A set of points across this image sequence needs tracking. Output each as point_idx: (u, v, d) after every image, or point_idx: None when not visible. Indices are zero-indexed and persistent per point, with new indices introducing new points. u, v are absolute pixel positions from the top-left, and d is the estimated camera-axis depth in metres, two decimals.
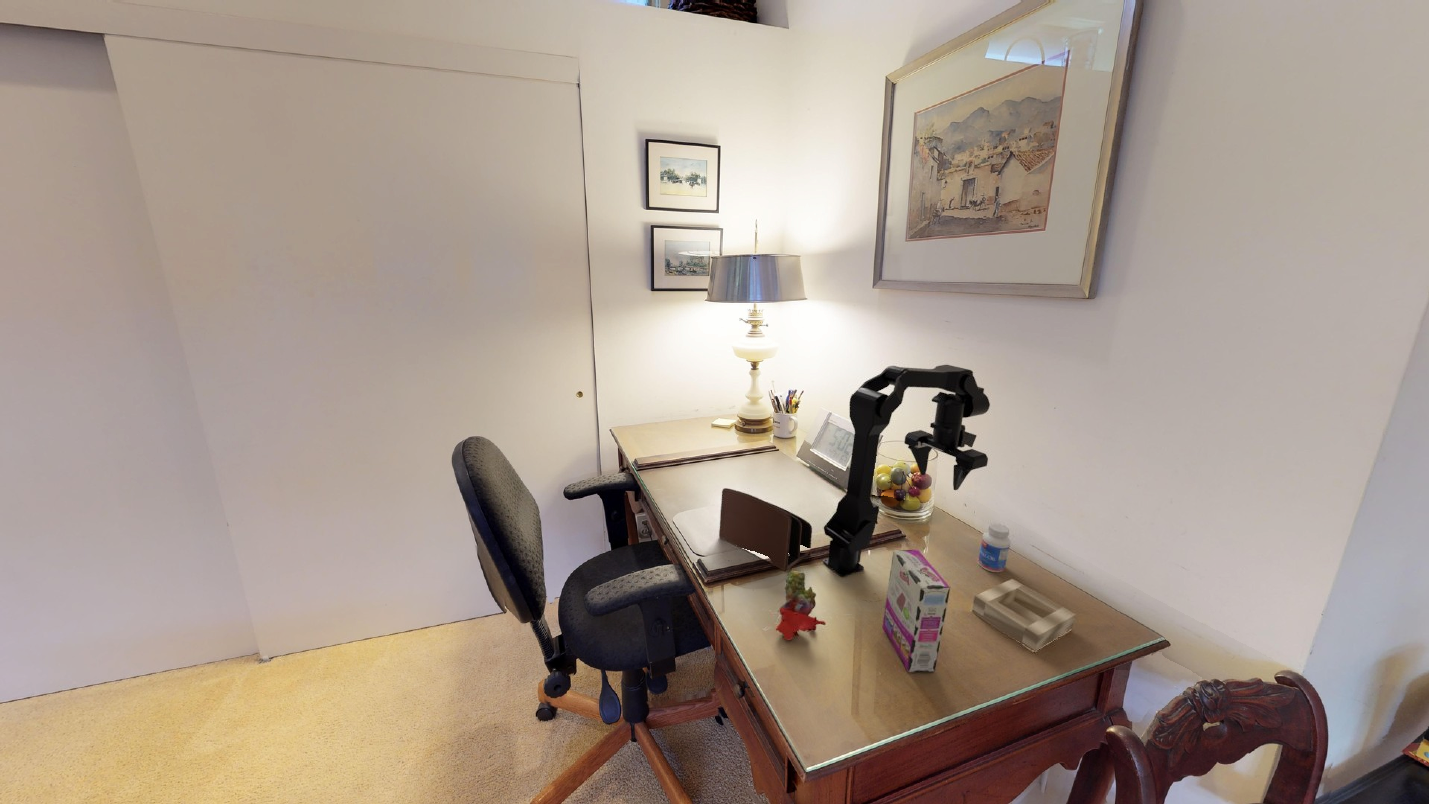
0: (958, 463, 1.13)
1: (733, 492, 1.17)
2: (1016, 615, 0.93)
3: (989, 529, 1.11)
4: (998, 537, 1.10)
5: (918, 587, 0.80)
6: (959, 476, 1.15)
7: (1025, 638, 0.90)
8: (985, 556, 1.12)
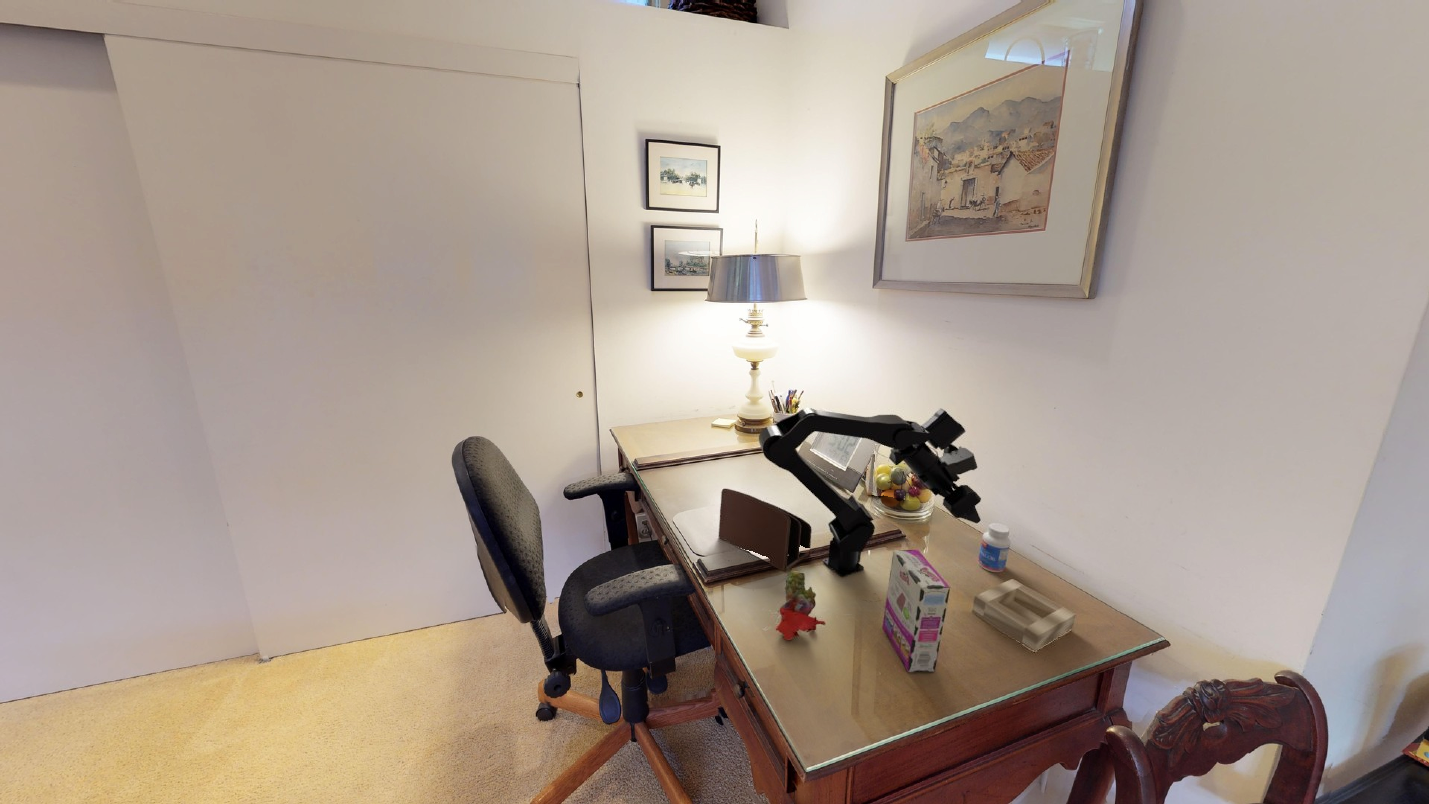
0: None
1: (732, 492, 1.17)
2: (1016, 615, 0.93)
3: (989, 529, 1.11)
4: (998, 537, 1.10)
5: (918, 587, 0.80)
6: (963, 516, 1.04)
7: (1025, 638, 0.90)
8: (985, 556, 1.12)
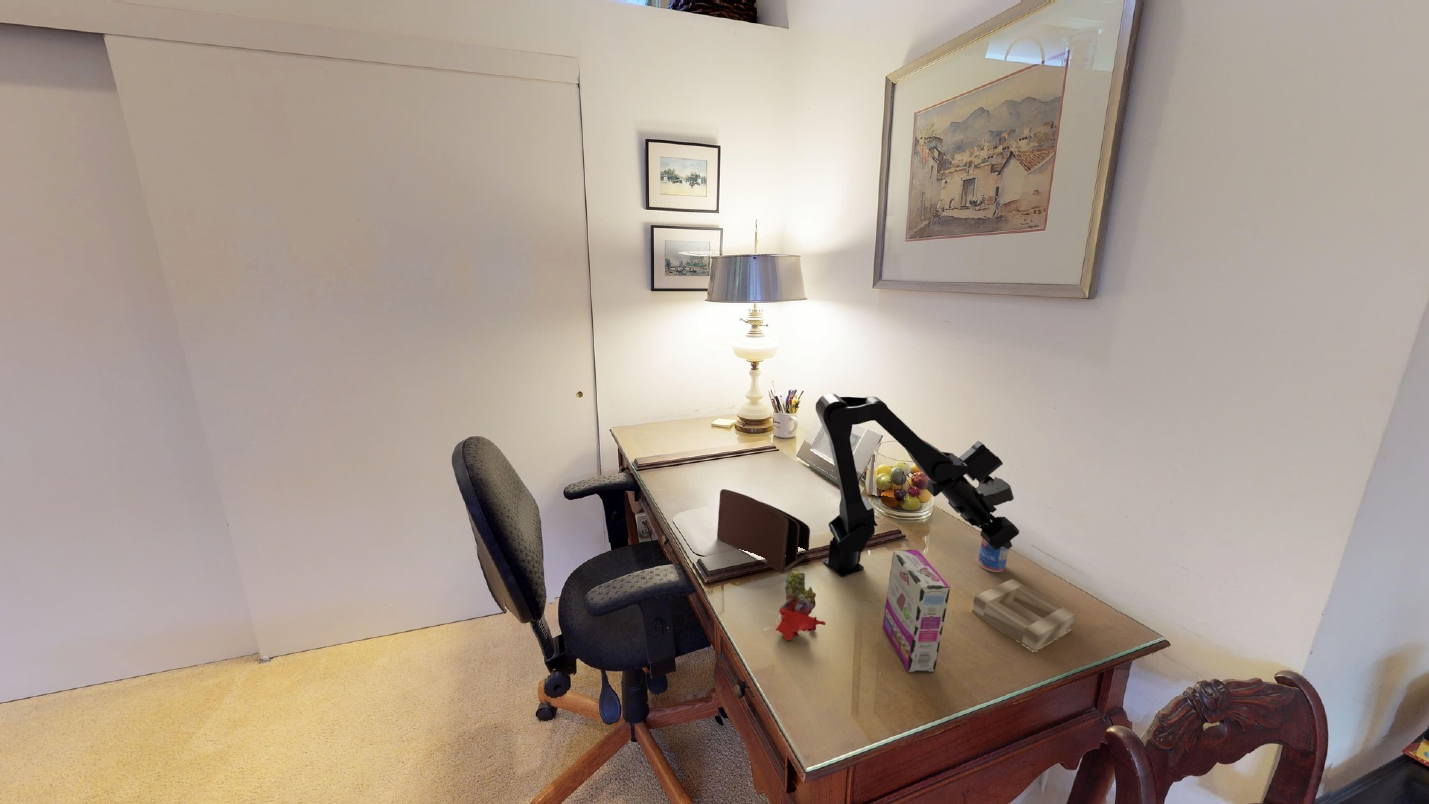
0: None
1: (731, 493, 1.17)
2: (1016, 615, 0.93)
3: None
4: None
5: (918, 587, 0.80)
6: None
7: (1025, 638, 0.90)
8: (985, 556, 1.12)
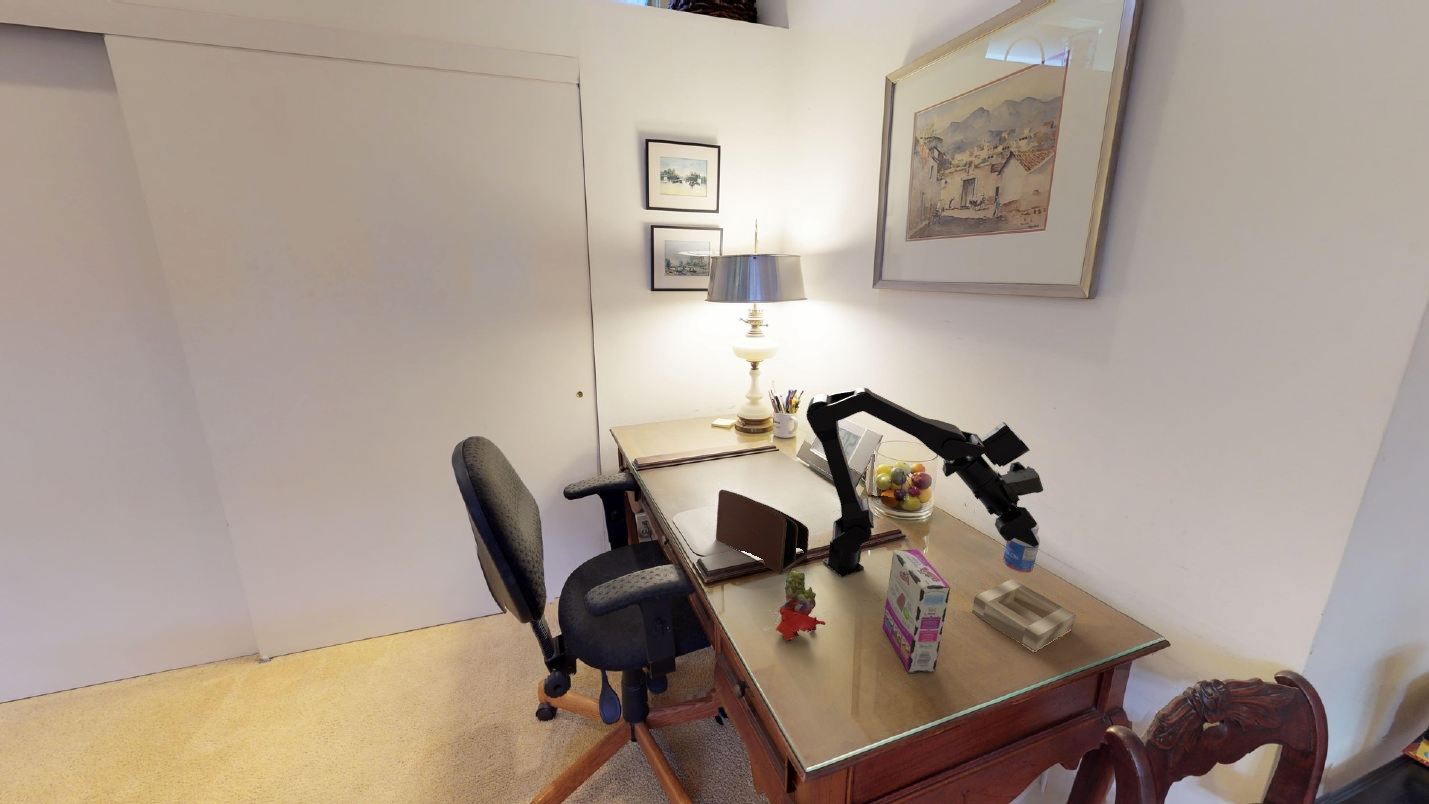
0: None
1: (729, 494, 1.16)
2: (1016, 615, 0.93)
3: None
4: None
5: (918, 587, 0.80)
6: (1016, 537, 0.97)
7: (1025, 638, 0.90)
8: (1008, 553, 1.01)
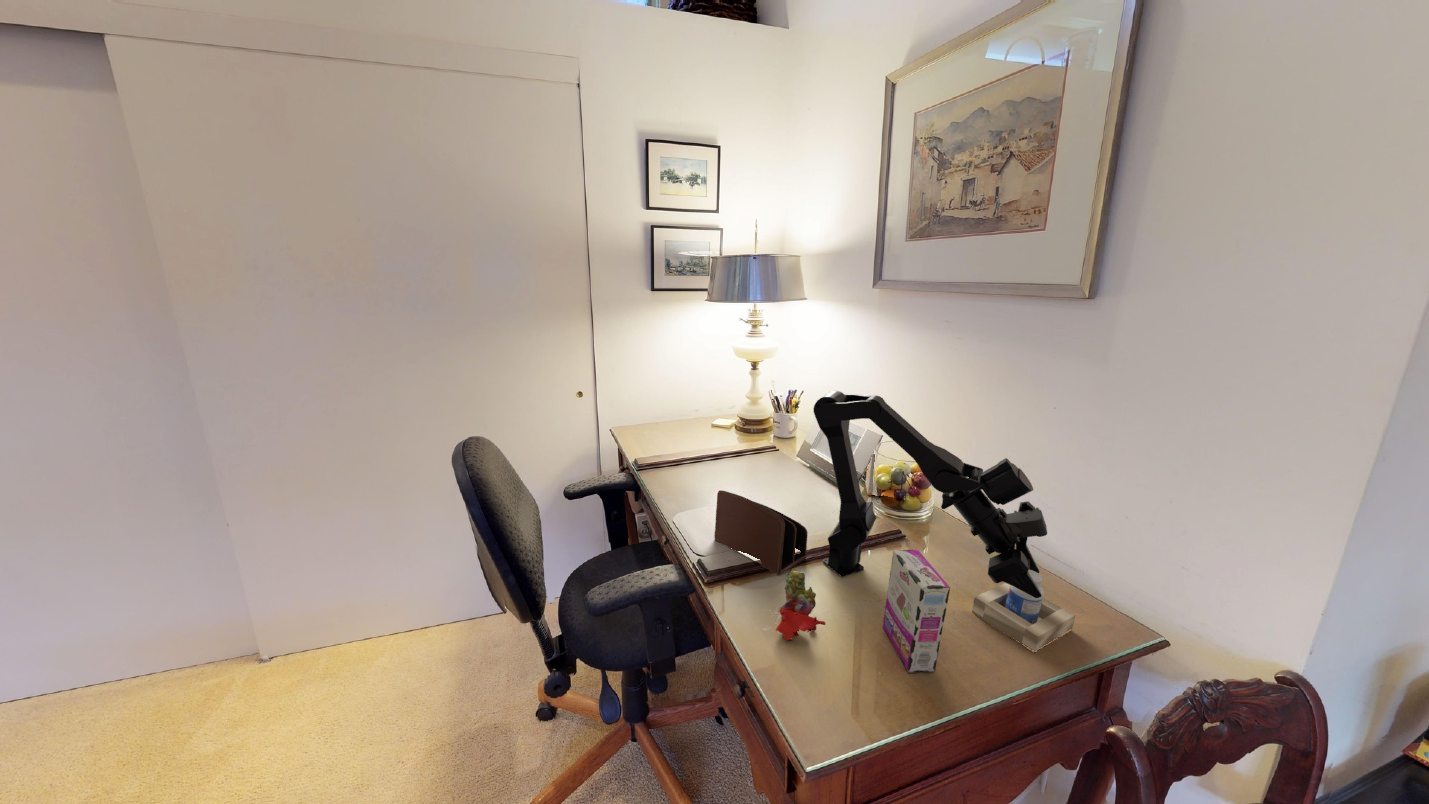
0: None
1: (728, 494, 1.16)
2: (1016, 616, 0.93)
3: None
4: None
5: (918, 587, 0.80)
6: (1014, 584, 0.90)
7: (1025, 639, 0.90)
8: (1008, 603, 0.96)
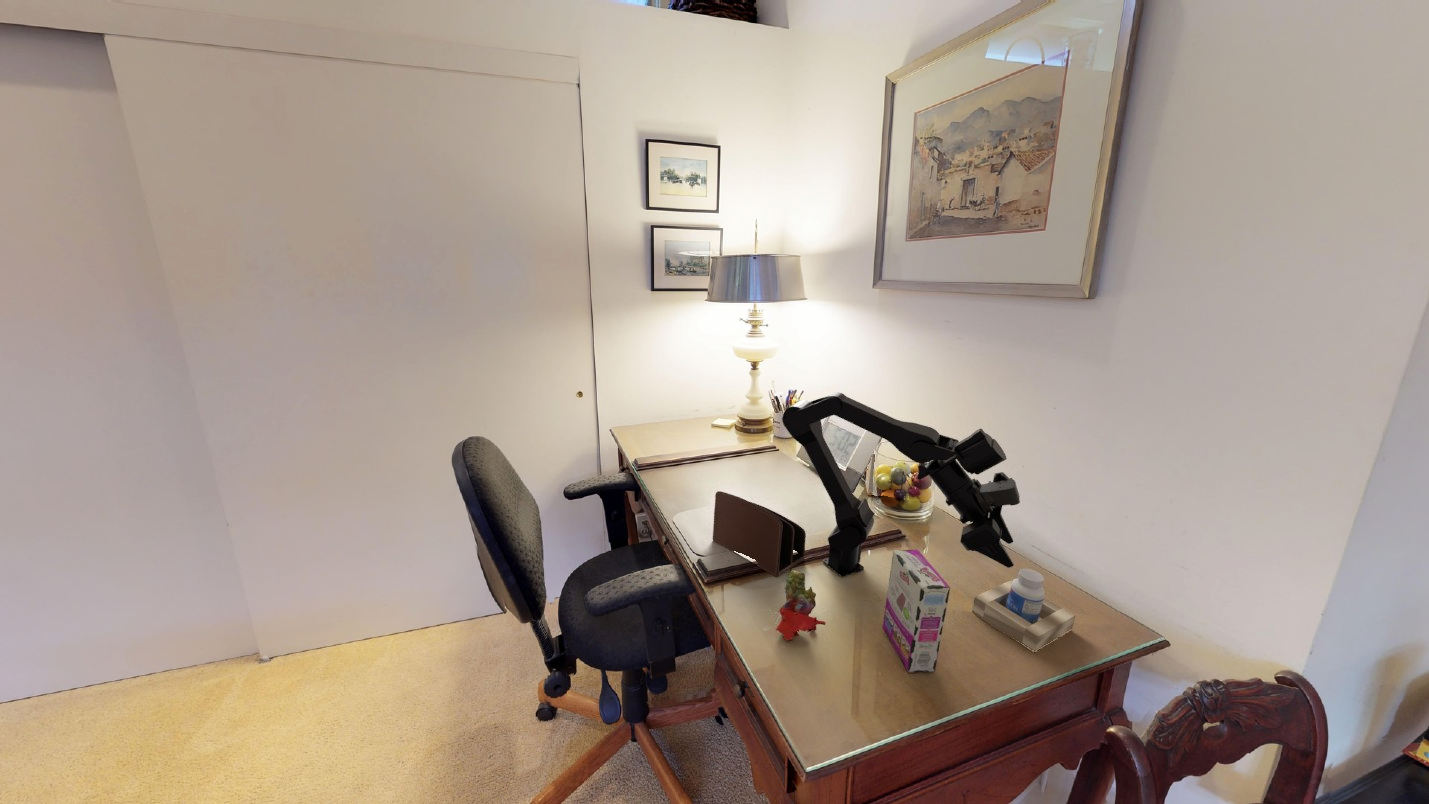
0: None
1: (726, 495, 1.16)
2: (1016, 616, 0.93)
3: (1018, 573, 0.95)
4: (1024, 584, 0.93)
5: (918, 587, 0.80)
6: (986, 554, 0.91)
7: (1025, 639, 0.90)
8: (1009, 603, 0.96)
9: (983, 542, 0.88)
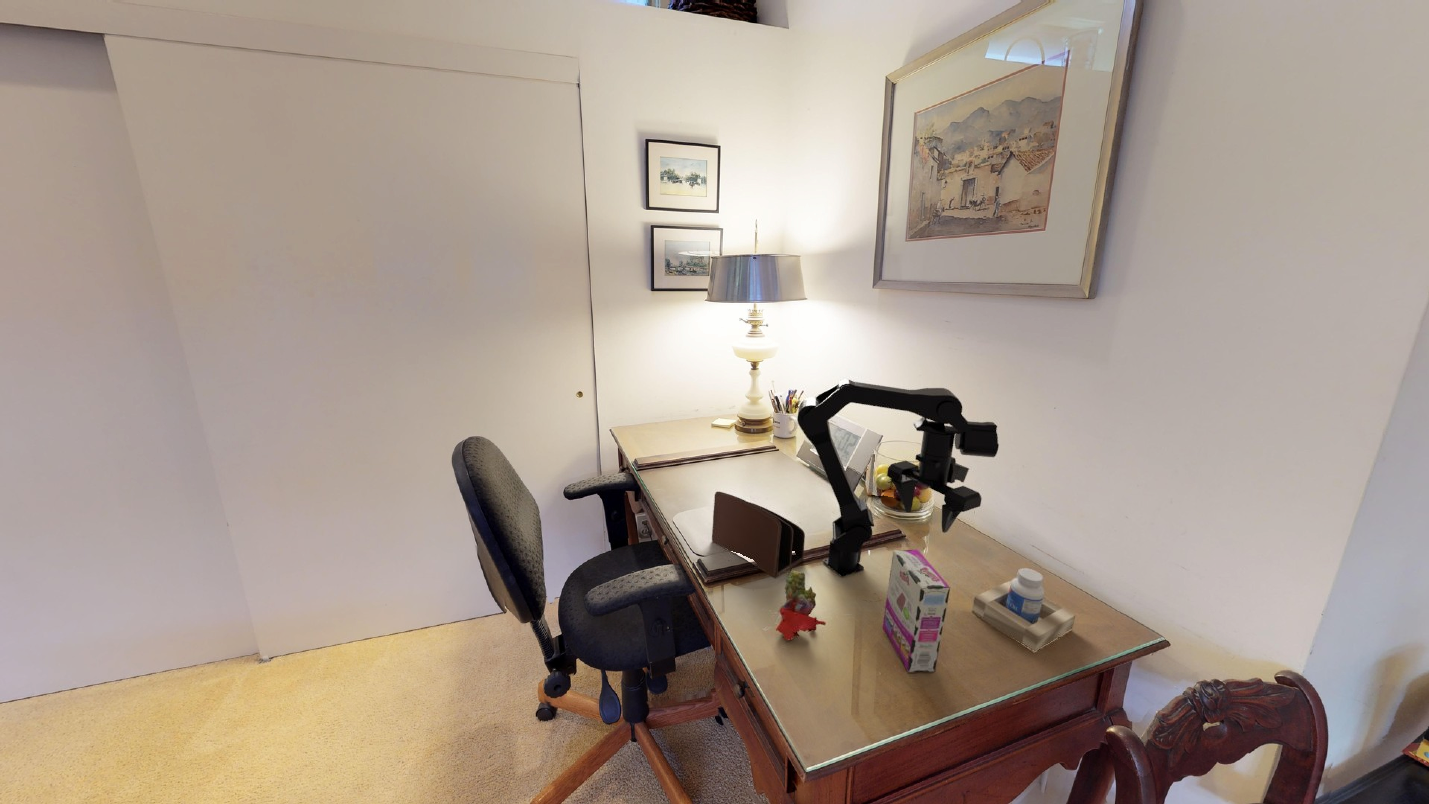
0: (947, 503, 0.97)
1: (725, 496, 1.15)
2: (1016, 616, 0.93)
3: (1017, 574, 0.95)
4: (1023, 583, 0.93)
5: (918, 587, 0.80)
6: (948, 517, 0.99)
7: (1025, 639, 0.90)
8: (1008, 603, 0.96)
9: (973, 507, 0.96)
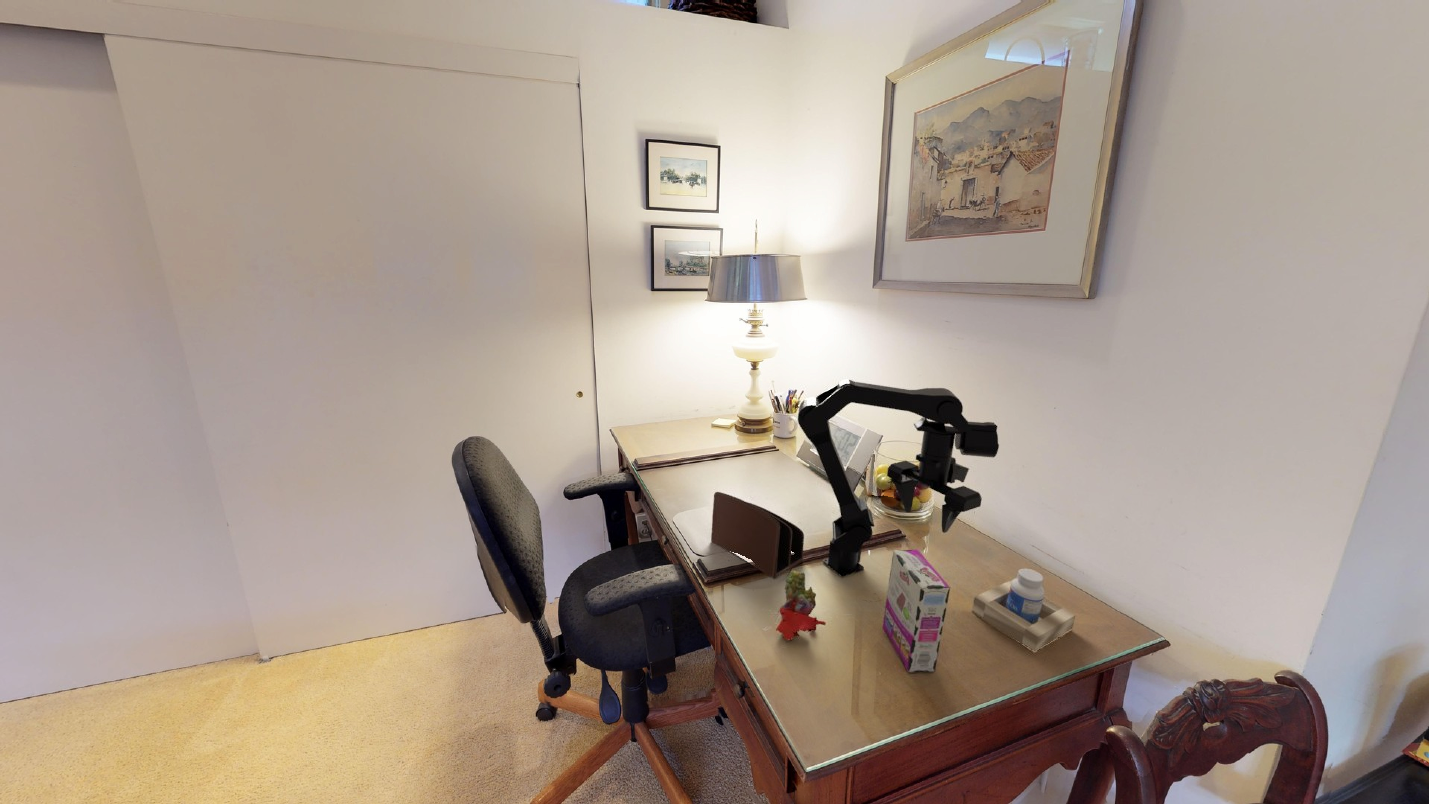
0: (947, 503, 0.97)
1: (724, 496, 1.15)
2: (1016, 616, 0.93)
3: (1018, 573, 0.95)
4: (1023, 584, 0.93)
5: (918, 587, 0.80)
6: (948, 517, 0.99)
7: (1025, 639, 0.90)
8: (1009, 603, 0.96)
9: (973, 507, 0.96)
